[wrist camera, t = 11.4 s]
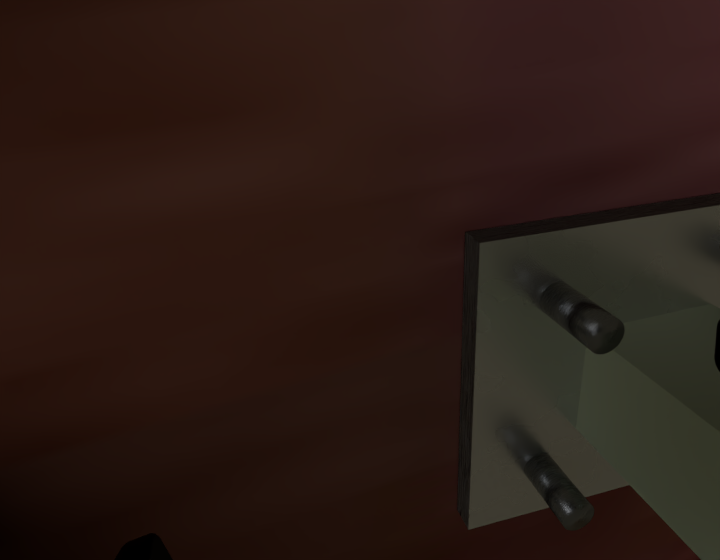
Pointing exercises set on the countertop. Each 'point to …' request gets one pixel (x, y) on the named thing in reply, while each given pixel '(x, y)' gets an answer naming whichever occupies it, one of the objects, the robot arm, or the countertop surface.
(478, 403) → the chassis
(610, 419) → the plate
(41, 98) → the countertop surface
